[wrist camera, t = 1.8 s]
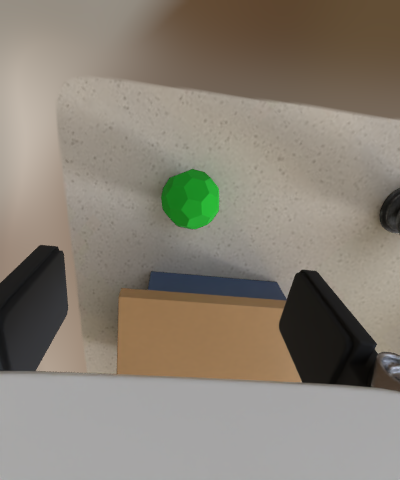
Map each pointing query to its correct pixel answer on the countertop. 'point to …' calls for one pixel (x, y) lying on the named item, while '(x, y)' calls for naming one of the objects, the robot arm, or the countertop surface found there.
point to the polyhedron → (190, 199)
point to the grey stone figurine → (391, 212)
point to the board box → (203, 329)
